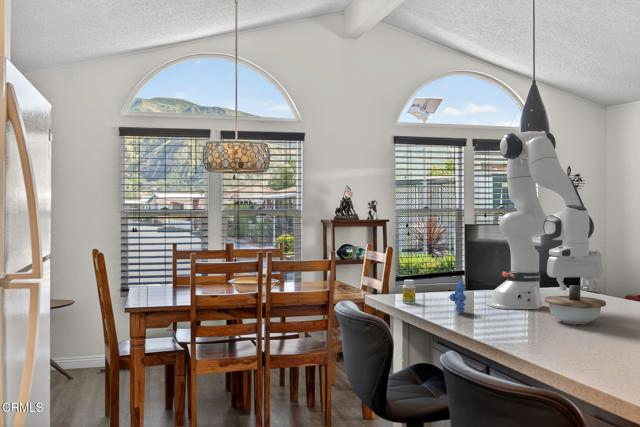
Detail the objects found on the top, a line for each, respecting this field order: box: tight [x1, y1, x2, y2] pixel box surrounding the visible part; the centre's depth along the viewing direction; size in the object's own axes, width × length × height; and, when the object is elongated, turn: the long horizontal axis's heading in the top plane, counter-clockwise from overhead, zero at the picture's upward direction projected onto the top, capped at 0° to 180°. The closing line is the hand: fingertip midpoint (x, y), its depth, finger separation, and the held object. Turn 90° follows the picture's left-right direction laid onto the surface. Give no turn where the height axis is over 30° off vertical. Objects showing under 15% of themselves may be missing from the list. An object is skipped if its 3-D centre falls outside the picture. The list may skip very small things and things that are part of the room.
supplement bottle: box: [402, 279, 416, 305], centre depth 253 cm, size 5×5×10 cm
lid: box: [544, 284, 607, 308], centre depth 212 cm, size 20×20×6 cm
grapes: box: [448, 281, 468, 315], centre depth 230 cm, size 12×7×12 cm, turn 169°
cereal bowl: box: [548, 303, 602, 325], centre depth 212 cm, size 17×17×7 cm
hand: (574, 289), depth 212 cm, fingers open, 8 cm apart
